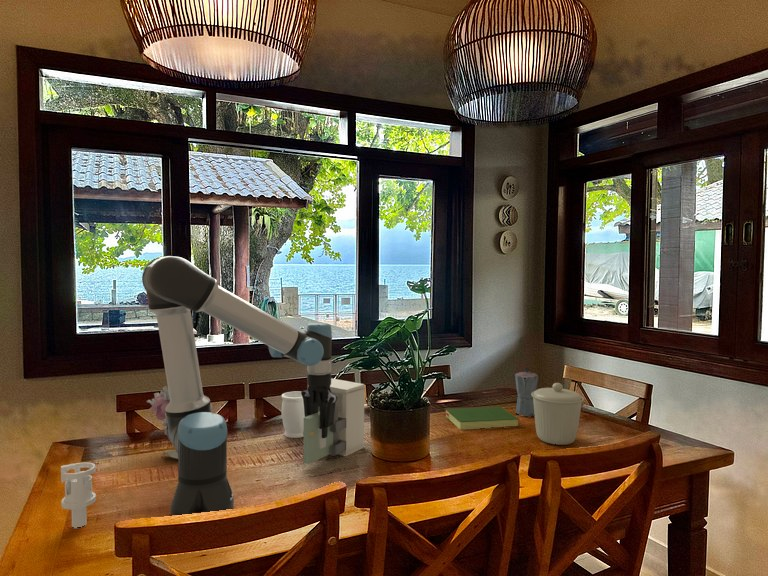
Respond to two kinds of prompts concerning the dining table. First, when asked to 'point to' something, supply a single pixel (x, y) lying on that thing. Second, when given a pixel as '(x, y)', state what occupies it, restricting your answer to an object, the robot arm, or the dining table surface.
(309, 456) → the door
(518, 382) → the moka pot
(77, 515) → the strainer
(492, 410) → the hardcover book
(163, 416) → the flower
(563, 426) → the canister
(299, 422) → the jar
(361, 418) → the cabinet
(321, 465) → the dining table surface
